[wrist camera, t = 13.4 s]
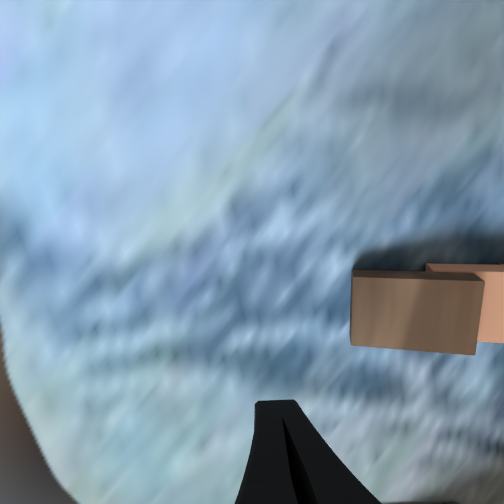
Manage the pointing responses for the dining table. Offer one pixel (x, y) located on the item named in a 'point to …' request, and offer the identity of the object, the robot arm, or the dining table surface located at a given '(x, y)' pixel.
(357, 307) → the domino
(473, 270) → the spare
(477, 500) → the dining table surface
